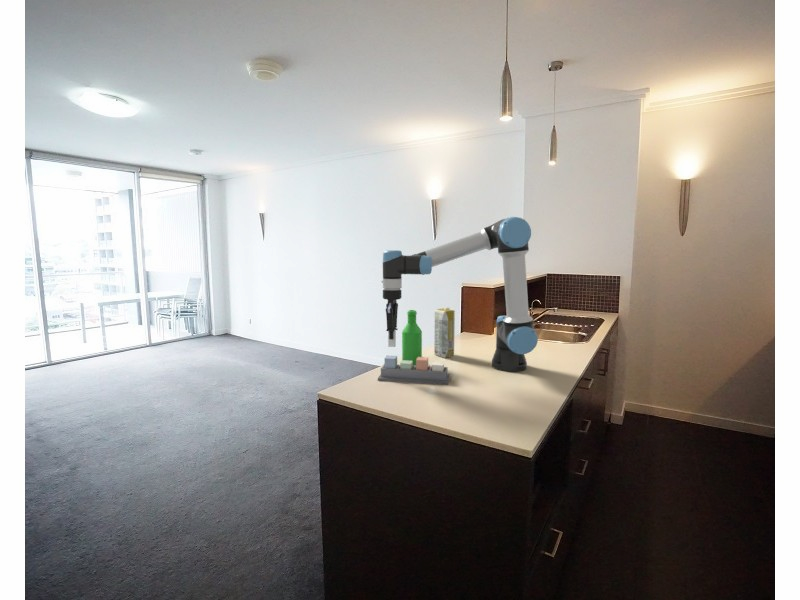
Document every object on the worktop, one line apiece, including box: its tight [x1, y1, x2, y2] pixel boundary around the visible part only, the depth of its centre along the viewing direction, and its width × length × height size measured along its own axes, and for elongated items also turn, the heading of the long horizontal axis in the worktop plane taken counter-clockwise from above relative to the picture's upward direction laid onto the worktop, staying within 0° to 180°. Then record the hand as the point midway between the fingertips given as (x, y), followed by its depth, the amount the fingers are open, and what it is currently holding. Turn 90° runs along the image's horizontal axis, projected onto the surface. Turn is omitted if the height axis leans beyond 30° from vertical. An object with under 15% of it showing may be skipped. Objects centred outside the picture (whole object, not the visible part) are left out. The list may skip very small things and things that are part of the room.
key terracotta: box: [416, 356, 429, 371], centre depth 164 cm, size 4×4×5 cm
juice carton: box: [433, 306, 456, 359], centre depth 197 cm, size 9×8×24 cm
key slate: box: [384, 355, 398, 369], centre depth 167 cm, size 4×4×5 cm
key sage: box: [399, 360, 413, 370], centre depth 166 cm, size 4×4×5 cm
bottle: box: [401, 309, 423, 365], centre depth 182 cm, size 9×9×25 cm
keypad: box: [377, 363, 451, 386], centre depth 165 cm, size 28×11×4 cm, turn 79°
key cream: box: [431, 361, 445, 371], centre depth 163 cm, size 4×4×5 cm
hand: (391, 346), depth 166 cm, fingers closed
